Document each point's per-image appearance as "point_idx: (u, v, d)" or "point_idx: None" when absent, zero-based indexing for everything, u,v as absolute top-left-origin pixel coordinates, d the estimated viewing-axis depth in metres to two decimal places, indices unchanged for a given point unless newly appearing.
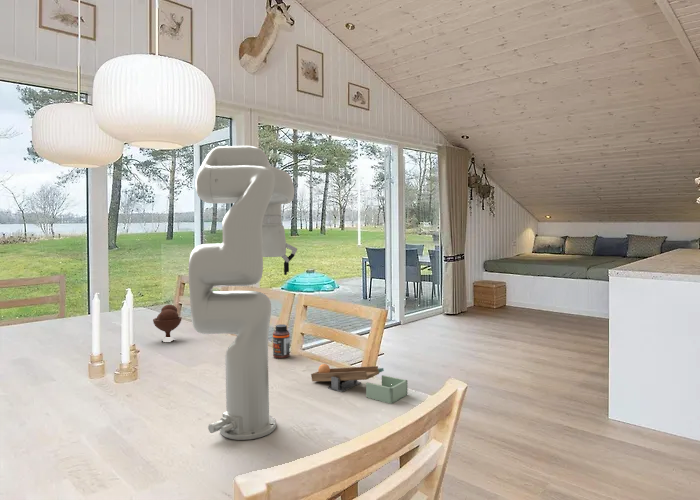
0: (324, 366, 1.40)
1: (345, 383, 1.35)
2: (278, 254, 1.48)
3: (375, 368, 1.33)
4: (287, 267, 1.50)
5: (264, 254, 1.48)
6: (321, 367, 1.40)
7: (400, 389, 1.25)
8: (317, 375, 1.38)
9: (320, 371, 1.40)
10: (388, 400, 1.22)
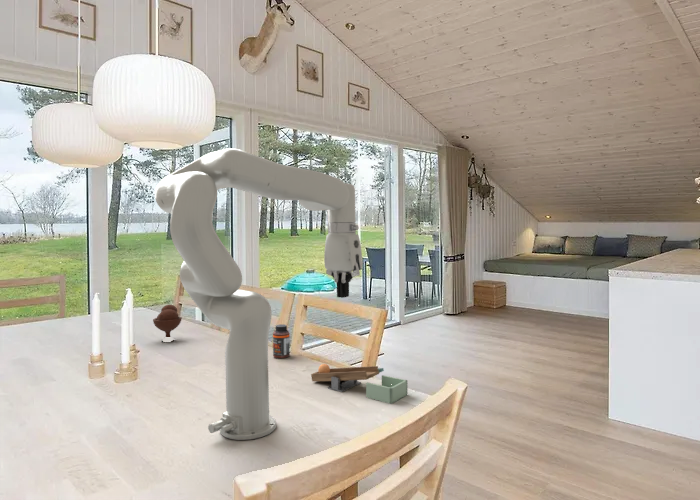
0: (324, 366, 1.40)
1: (345, 383, 1.35)
2: None
3: (375, 368, 1.33)
4: None
5: None
6: (321, 367, 1.40)
7: (400, 389, 1.25)
8: (317, 375, 1.38)
9: (320, 371, 1.40)
10: (388, 400, 1.22)
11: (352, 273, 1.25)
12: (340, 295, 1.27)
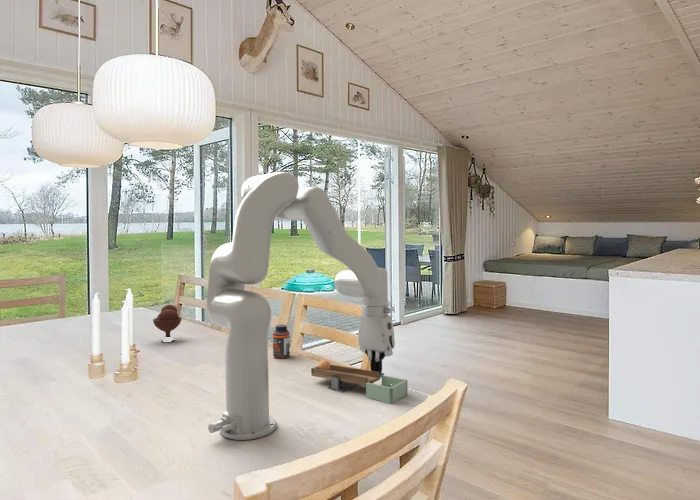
0: (325, 362, 1.40)
1: (345, 383, 1.35)
2: None
3: (376, 374, 1.32)
4: None
5: None
6: (322, 363, 1.39)
7: (400, 389, 1.25)
8: (317, 371, 1.38)
9: (320, 367, 1.39)
10: (388, 400, 1.22)
11: (385, 353, 1.33)
12: None
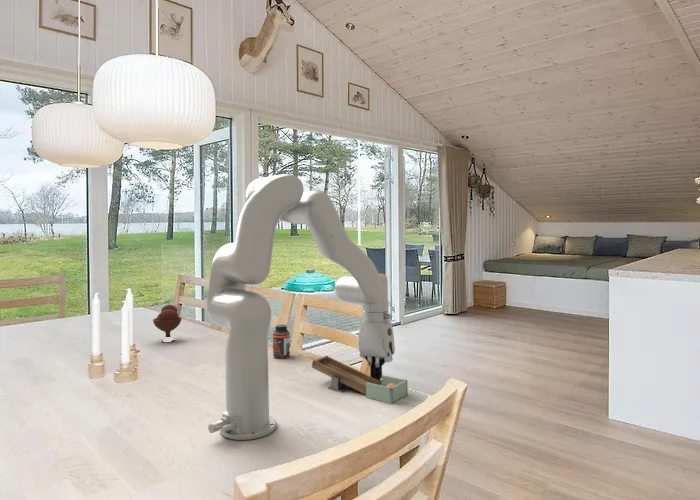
0: None
1: None
2: None
3: (377, 382, 1.32)
4: None
5: None
6: None
7: (400, 389, 1.25)
8: (318, 365, 1.38)
9: None
10: (388, 400, 1.22)
11: (385, 359, 1.33)
12: (374, 378, 1.35)
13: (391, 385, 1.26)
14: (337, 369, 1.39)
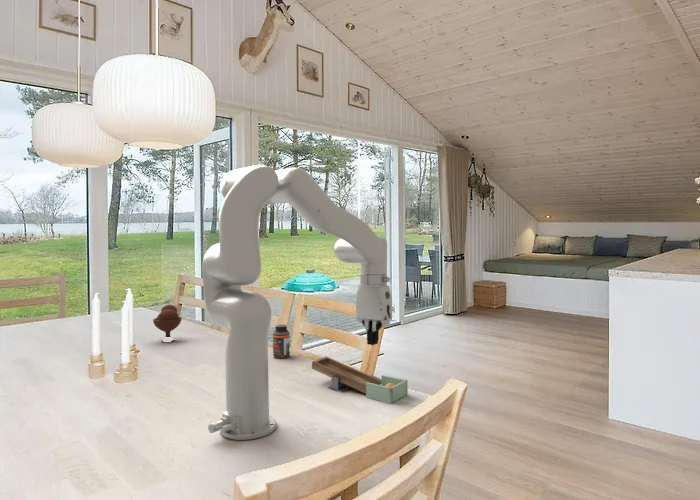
0: None
1: None
2: None
3: (377, 381, 1.32)
4: None
5: None
6: None
7: (400, 389, 1.25)
8: (318, 365, 1.38)
9: None
10: (388, 400, 1.22)
11: (382, 322, 1.32)
12: (370, 342, 1.34)
13: (389, 384, 1.26)
14: (337, 369, 1.39)
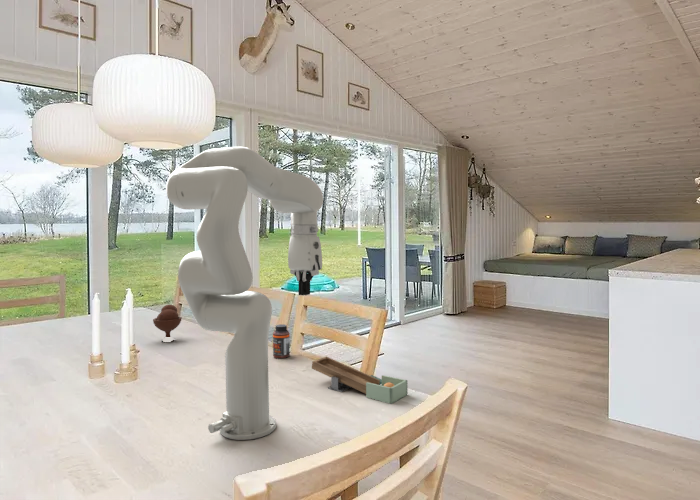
0: None
1: None
2: None
3: (377, 381, 1.32)
4: None
5: None
6: None
7: (400, 389, 1.25)
8: (318, 365, 1.38)
9: None
10: (388, 400, 1.22)
11: (312, 272, 1.34)
12: (301, 293, 1.35)
13: (386, 384, 1.27)
14: (337, 369, 1.39)
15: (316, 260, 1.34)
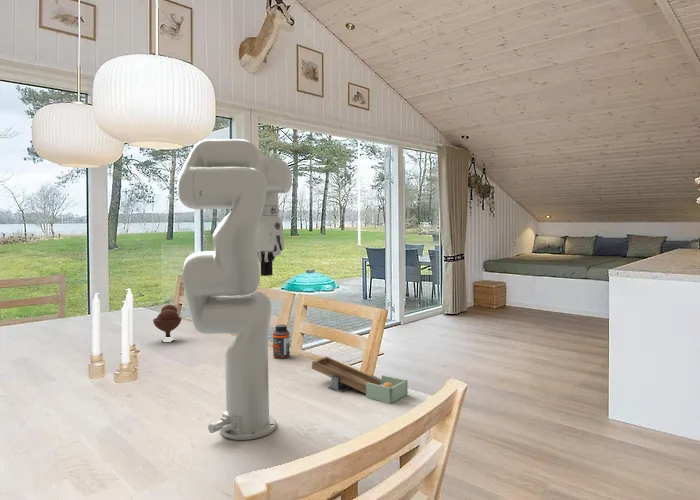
0: None
1: None
2: None
3: (377, 381, 1.32)
4: None
5: None
6: None
7: (400, 389, 1.25)
8: (318, 365, 1.38)
9: None
10: (388, 400, 1.22)
11: (273, 253, 1.35)
12: (263, 273, 1.37)
13: (383, 384, 1.27)
14: (337, 369, 1.39)
15: (278, 241, 1.36)
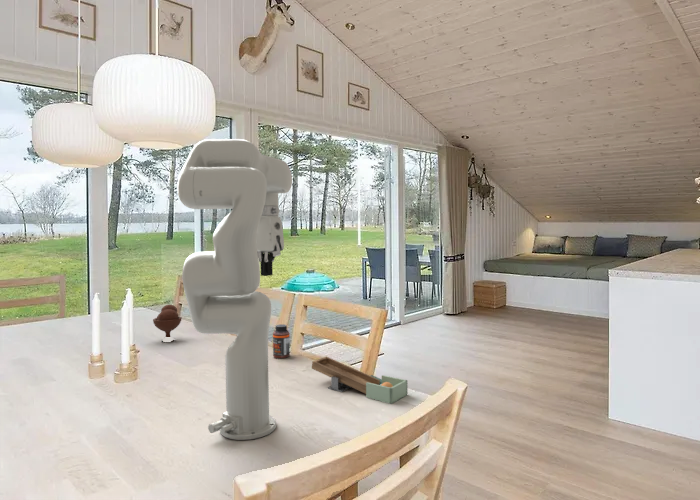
0: None
1: None
2: None
3: (377, 381, 1.32)
4: None
5: None
6: None
7: (400, 389, 1.25)
8: (318, 365, 1.38)
9: None
10: (388, 400, 1.22)
11: (273, 253, 1.35)
12: (263, 273, 1.37)
13: (382, 384, 1.27)
14: (337, 369, 1.39)
15: (278, 241, 1.36)
